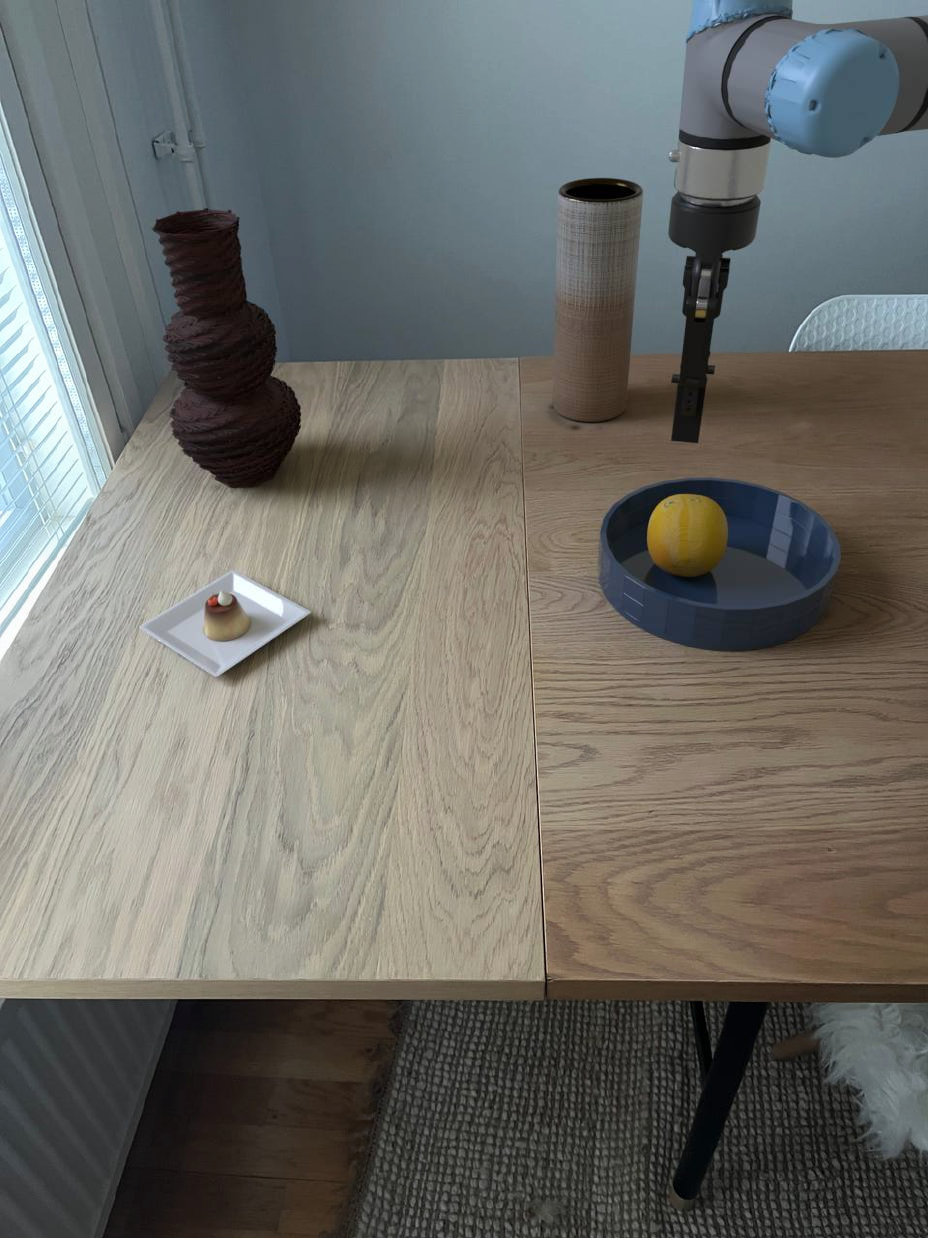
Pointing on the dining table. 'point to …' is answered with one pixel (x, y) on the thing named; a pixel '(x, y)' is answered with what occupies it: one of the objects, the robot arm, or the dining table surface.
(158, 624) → the dessert
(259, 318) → the vase
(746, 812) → the dining table surface
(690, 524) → the fruit
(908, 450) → the dining table surface
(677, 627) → the bowl
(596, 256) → the tall ceramic vase
